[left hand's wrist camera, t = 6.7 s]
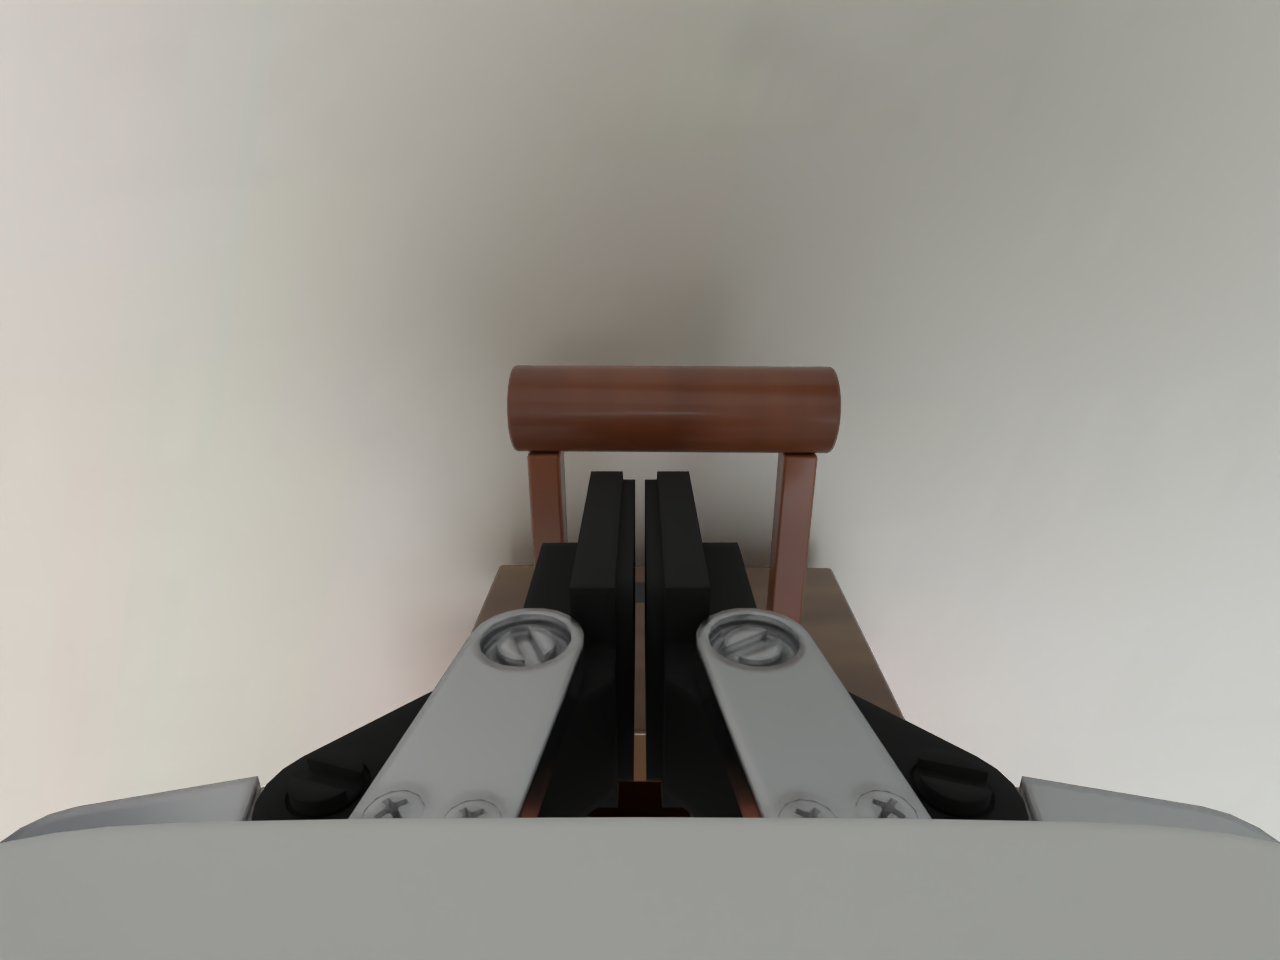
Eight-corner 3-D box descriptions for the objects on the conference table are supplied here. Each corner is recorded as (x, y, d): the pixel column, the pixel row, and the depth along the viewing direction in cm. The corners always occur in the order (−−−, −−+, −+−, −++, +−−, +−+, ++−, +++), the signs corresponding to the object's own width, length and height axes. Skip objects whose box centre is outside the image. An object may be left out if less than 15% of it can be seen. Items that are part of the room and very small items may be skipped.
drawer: (479, 329, 16) (381, 397, 10) (859, 330, 16) (976, 401, 10) (533, 961, 24) (495, 1199, 18) (785, 965, 23) (827, 1208, 18)
